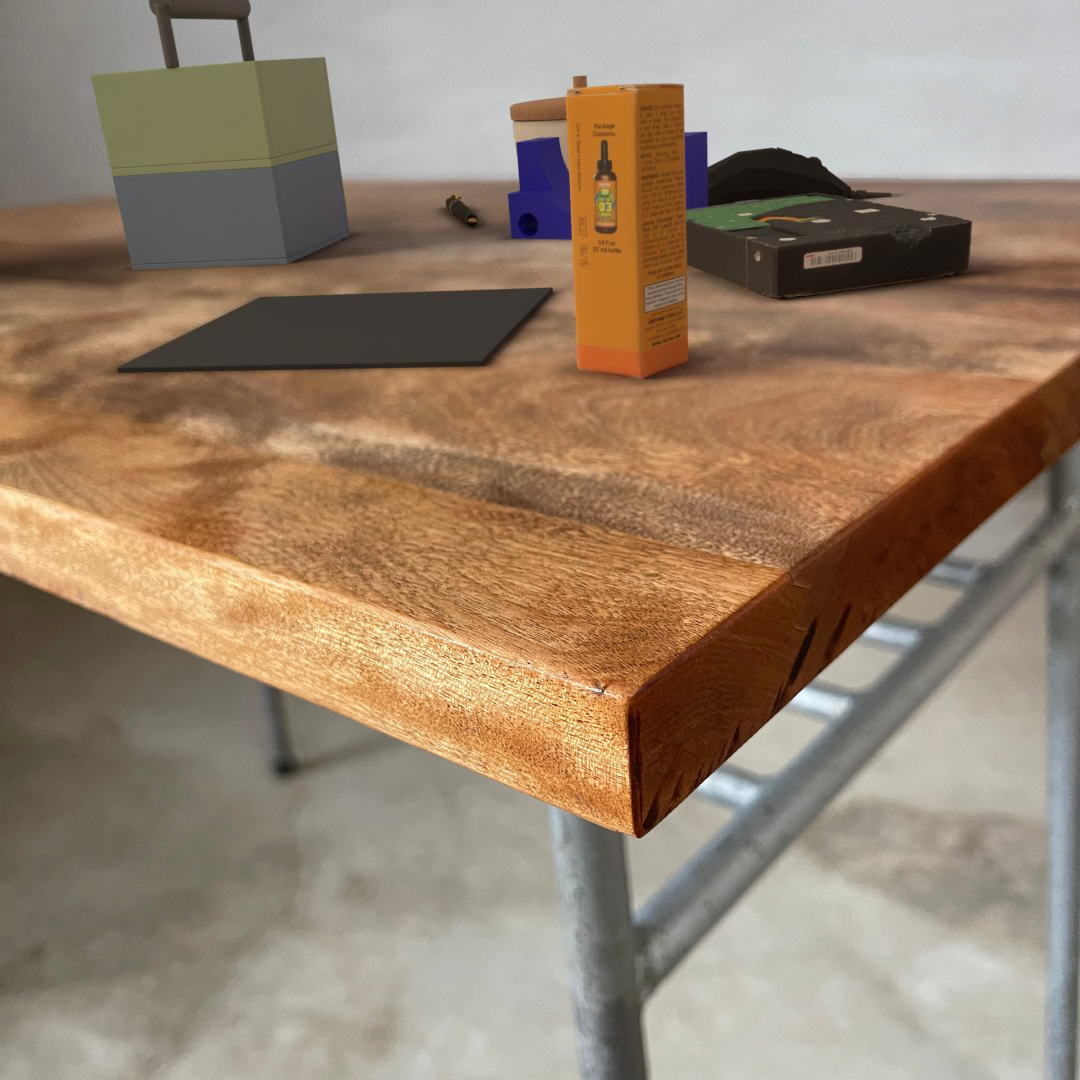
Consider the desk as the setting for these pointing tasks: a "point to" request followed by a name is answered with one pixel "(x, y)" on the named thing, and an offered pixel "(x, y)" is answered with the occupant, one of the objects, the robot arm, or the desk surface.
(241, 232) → the box
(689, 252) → the disk drive
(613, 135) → the supplement box
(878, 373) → the desk surface
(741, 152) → the gaming mouse
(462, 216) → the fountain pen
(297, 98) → the top basket
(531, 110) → the trinket box
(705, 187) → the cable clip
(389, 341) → the mat
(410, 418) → the desk surface
